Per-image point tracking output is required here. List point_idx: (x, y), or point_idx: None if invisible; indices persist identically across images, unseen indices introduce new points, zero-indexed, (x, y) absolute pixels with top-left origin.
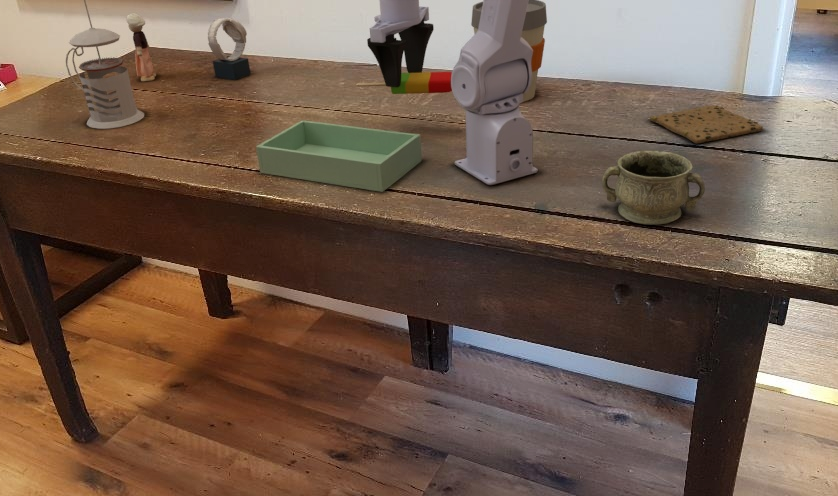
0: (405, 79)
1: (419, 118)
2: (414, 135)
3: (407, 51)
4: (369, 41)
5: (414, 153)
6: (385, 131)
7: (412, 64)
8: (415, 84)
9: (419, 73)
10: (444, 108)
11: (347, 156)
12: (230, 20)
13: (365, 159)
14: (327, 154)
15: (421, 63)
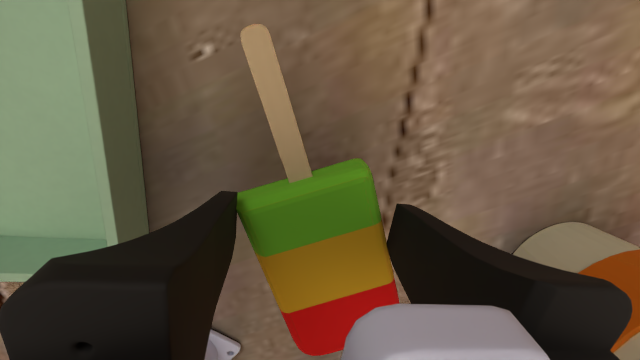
0: (286, 242)
1: (406, 143)
2: None
3: (436, 253)
4: (3, 315)
5: None
6: (101, 201)
7: (405, 239)
8: (265, 276)
9: (370, 255)
10: (478, 174)
11: (68, 81)
12: None
13: (75, 138)
14: (49, 12)
15: (398, 277)
